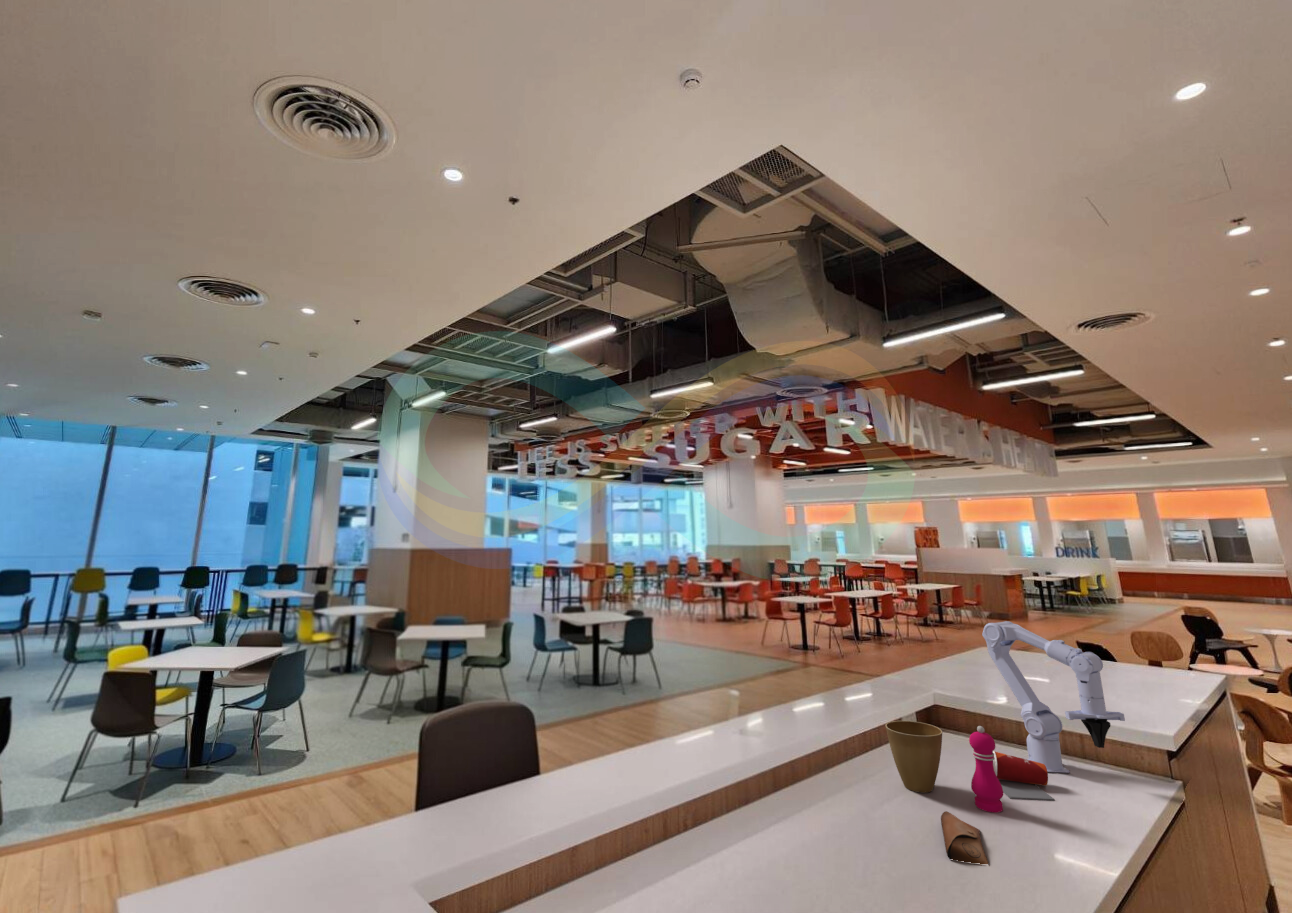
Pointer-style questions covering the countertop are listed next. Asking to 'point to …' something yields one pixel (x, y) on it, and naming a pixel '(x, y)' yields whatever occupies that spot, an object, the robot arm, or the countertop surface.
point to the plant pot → (915, 753)
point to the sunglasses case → (962, 840)
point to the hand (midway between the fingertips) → (1099, 746)
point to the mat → (1023, 791)
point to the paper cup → (1019, 769)
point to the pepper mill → (985, 773)
